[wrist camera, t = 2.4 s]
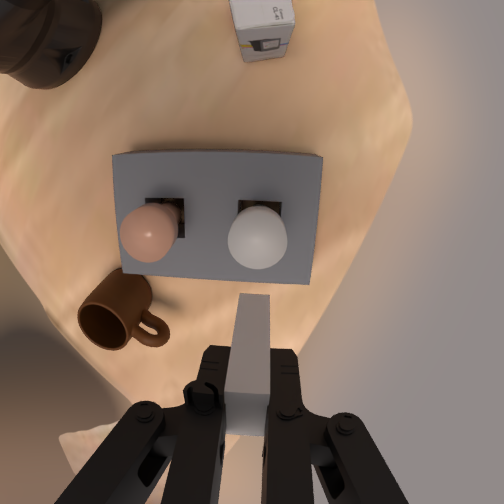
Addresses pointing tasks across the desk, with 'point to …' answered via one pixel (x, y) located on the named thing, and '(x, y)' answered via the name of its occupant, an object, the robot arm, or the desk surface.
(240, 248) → the grey plug
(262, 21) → the ink box
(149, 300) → the mug
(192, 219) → the panel
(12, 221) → the desk surface
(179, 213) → the terracotta plug
